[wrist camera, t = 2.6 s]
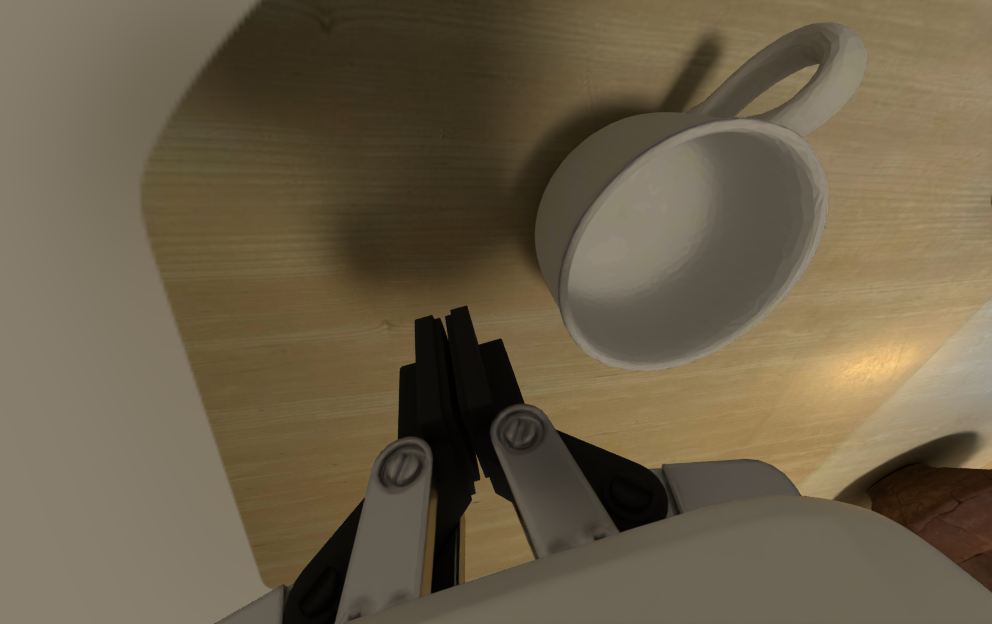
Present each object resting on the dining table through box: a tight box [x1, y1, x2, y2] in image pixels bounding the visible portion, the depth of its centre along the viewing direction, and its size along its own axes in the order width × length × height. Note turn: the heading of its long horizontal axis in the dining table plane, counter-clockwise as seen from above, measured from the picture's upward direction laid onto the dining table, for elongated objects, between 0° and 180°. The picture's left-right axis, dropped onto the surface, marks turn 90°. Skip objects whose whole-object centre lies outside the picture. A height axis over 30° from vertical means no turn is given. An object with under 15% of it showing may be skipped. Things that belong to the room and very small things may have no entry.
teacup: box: [535, 22, 868, 371], centre depth 16 cm, size 14×11×8 cm
